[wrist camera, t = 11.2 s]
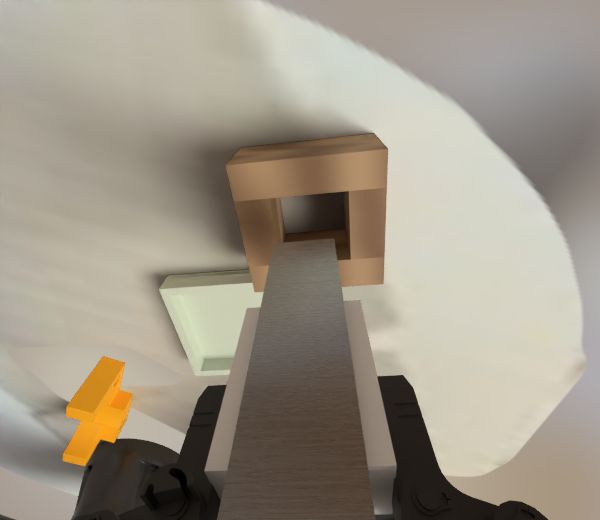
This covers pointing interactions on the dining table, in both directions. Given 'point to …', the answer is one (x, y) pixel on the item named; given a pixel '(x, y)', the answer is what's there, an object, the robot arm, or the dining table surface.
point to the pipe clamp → (97, 410)
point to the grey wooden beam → (299, 401)
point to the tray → (210, 315)
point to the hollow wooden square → (306, 181)
